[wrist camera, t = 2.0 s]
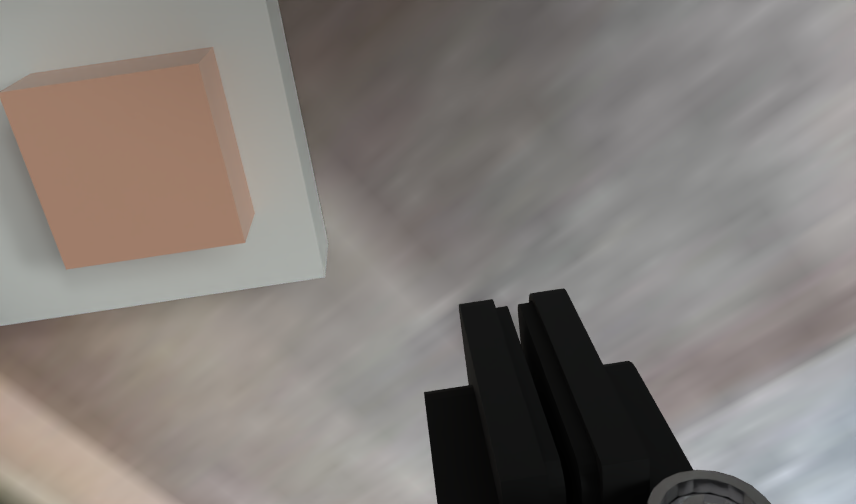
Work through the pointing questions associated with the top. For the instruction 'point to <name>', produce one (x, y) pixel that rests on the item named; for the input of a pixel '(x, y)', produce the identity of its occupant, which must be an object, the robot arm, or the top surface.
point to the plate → (254, 129)
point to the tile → (132, 157)
